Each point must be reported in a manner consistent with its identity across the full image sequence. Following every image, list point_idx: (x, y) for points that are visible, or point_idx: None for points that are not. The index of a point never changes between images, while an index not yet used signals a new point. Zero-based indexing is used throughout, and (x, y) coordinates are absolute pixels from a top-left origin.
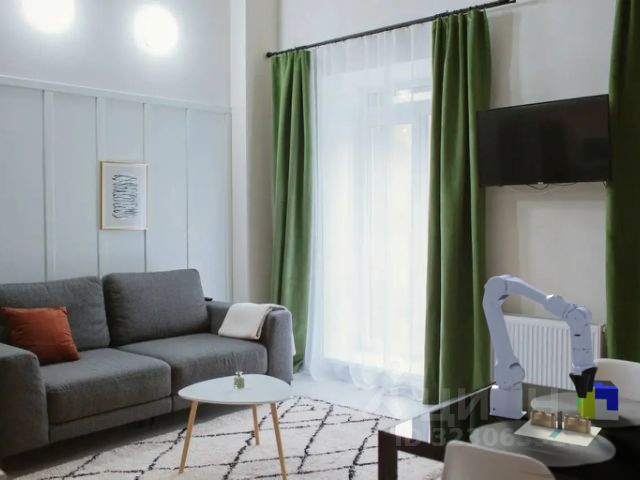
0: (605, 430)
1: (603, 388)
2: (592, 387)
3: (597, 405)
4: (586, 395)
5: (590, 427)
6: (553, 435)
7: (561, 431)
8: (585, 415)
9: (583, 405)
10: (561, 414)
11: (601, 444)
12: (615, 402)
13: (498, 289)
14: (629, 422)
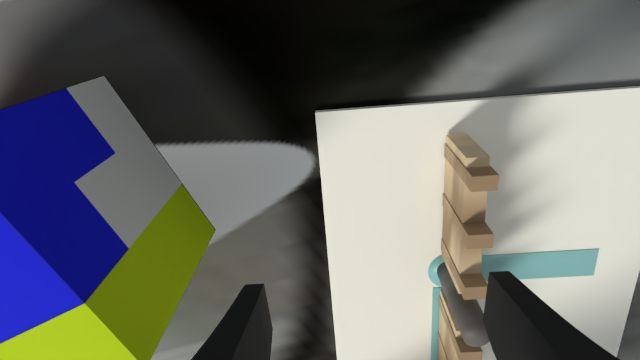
0: (320, 88)
1: (32, 246)
2: (255, 311)
3: (138, 212)
4: (516, 283)
5: (462, 144)
6: (569, 263)
7: (487, 253)
8: (202, 234)
9: (191, 276)
10: (482, 314)
11: (588, 34)
12: (41, 119)
13: None
14: (74, 13)
